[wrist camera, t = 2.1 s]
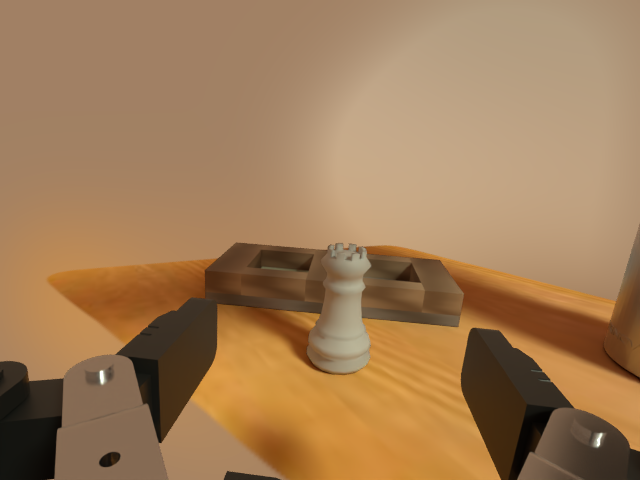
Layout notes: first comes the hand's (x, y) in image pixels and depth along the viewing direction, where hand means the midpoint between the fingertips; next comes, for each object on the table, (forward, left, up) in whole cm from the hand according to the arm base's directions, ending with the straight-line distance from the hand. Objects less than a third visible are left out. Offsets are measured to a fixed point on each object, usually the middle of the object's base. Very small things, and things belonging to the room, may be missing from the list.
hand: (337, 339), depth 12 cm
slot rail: (+1, -23, -9) cm, 25 cm away
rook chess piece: (0, -12, -9) cm, 15 cm away
